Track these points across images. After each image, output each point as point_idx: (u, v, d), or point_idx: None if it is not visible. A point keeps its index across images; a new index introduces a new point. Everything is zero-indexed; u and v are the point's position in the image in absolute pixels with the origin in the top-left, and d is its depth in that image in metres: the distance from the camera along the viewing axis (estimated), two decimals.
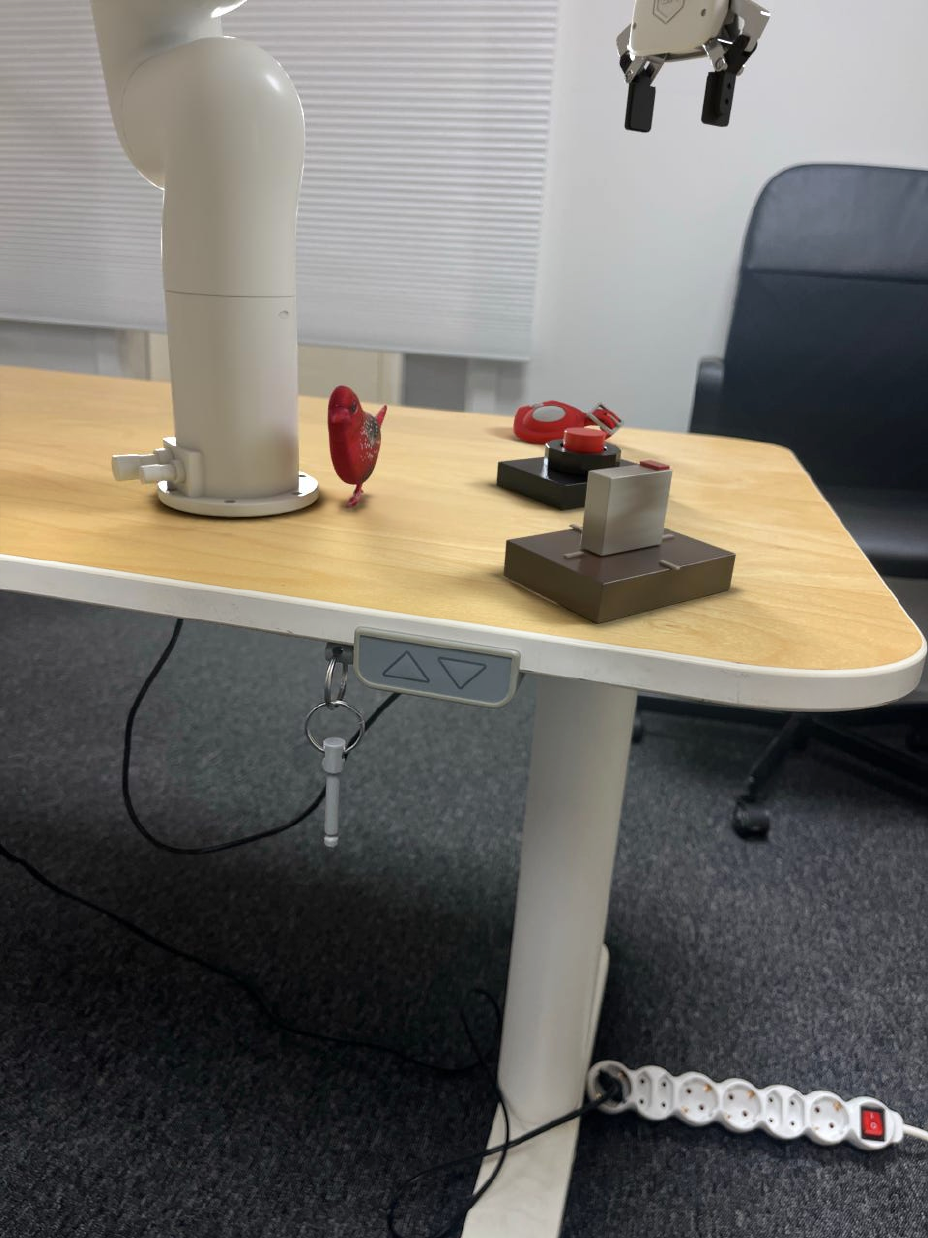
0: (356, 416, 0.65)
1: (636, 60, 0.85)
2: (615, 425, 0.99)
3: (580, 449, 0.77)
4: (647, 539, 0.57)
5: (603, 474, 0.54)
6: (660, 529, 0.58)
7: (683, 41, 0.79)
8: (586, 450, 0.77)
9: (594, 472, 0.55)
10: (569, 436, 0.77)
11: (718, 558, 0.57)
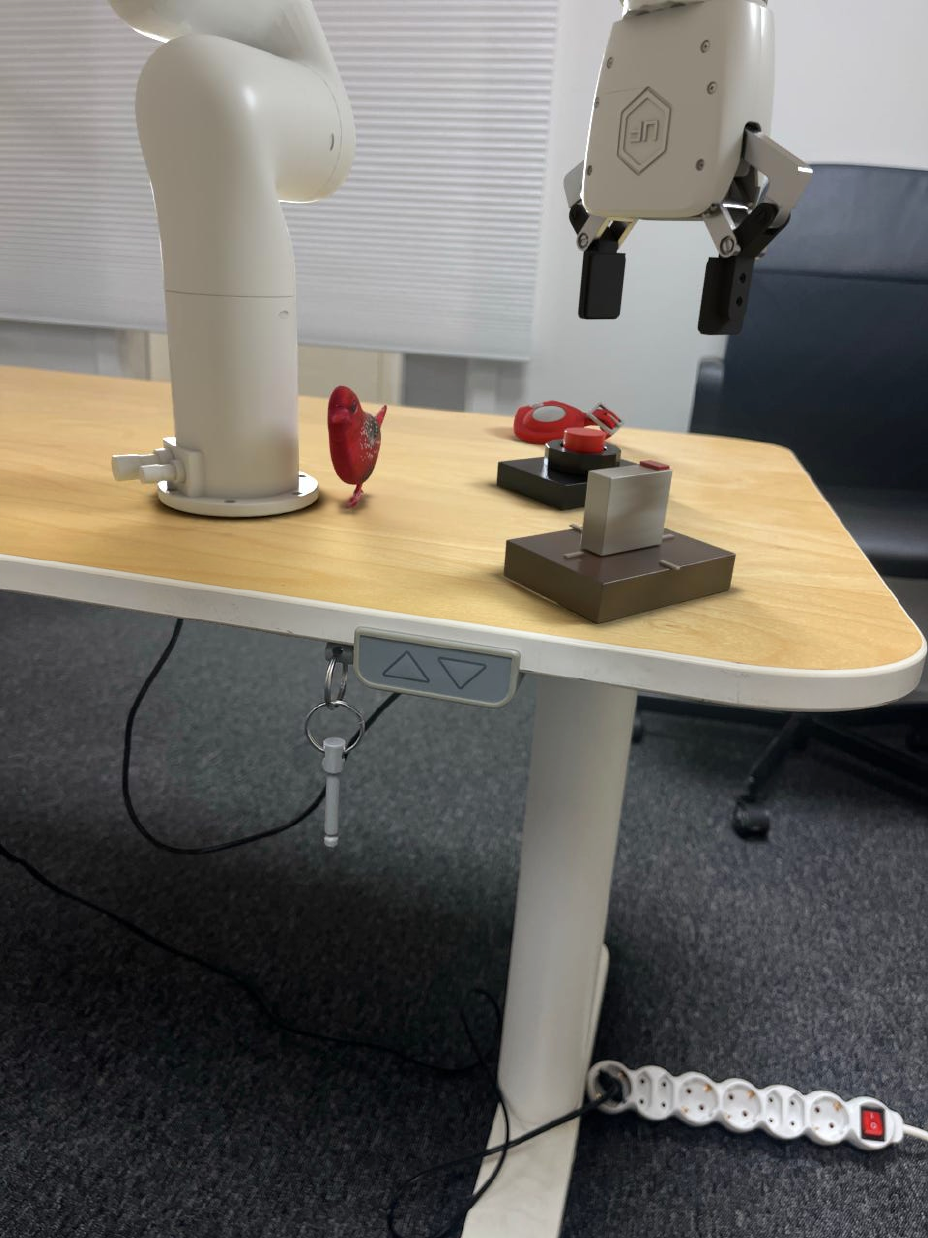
0: (356, 416, 0.65)
1: (594, 219, 0.54)
2: (615, 425, 0.99)
3: (580, 449, 0.77)
4: (647, 539, 0.57)
5: (603, 474, 0.54)
6: (660, 529, 0.58)
7: (667, 206, 0.48)
8: (586, 450, 0.77)
9: (594, 472, 0.55)
10: (569, 436, 0.77)
11: (718, 558, 0.57)
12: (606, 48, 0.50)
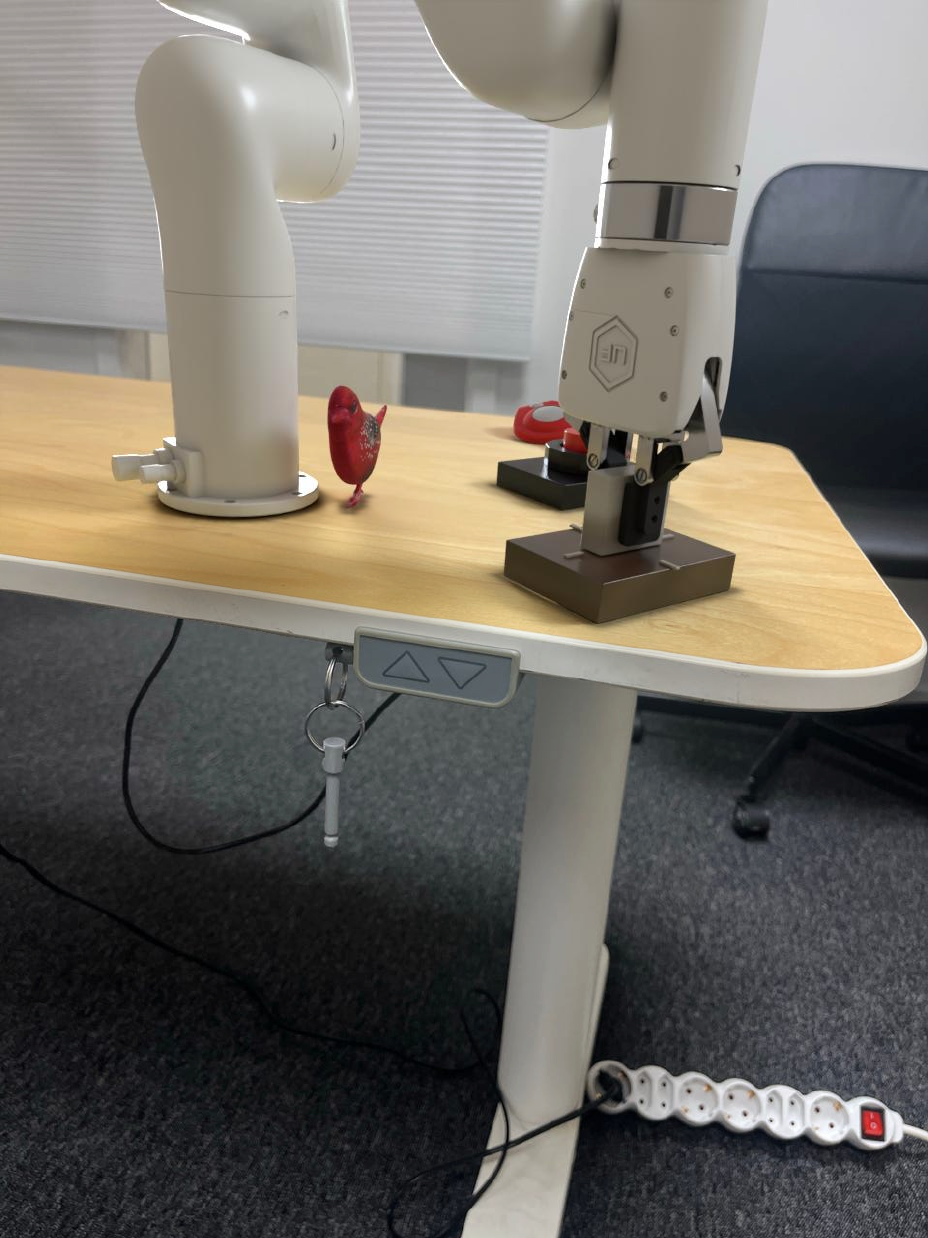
0: (356, 416, 0.65)
1: (594, 437, 0.56)
2: None
3: (580, 449, 0.77)
4: None
5: (603, 474, 0.54)
6: None
7: (633, 426, 0.51)
8: (586, 450, 0.77)
9: (594, 472, 0.55)
10: (569, 436, 0.77)
11: (718, 558, 0.57)
12: (580, 269, 0.53)
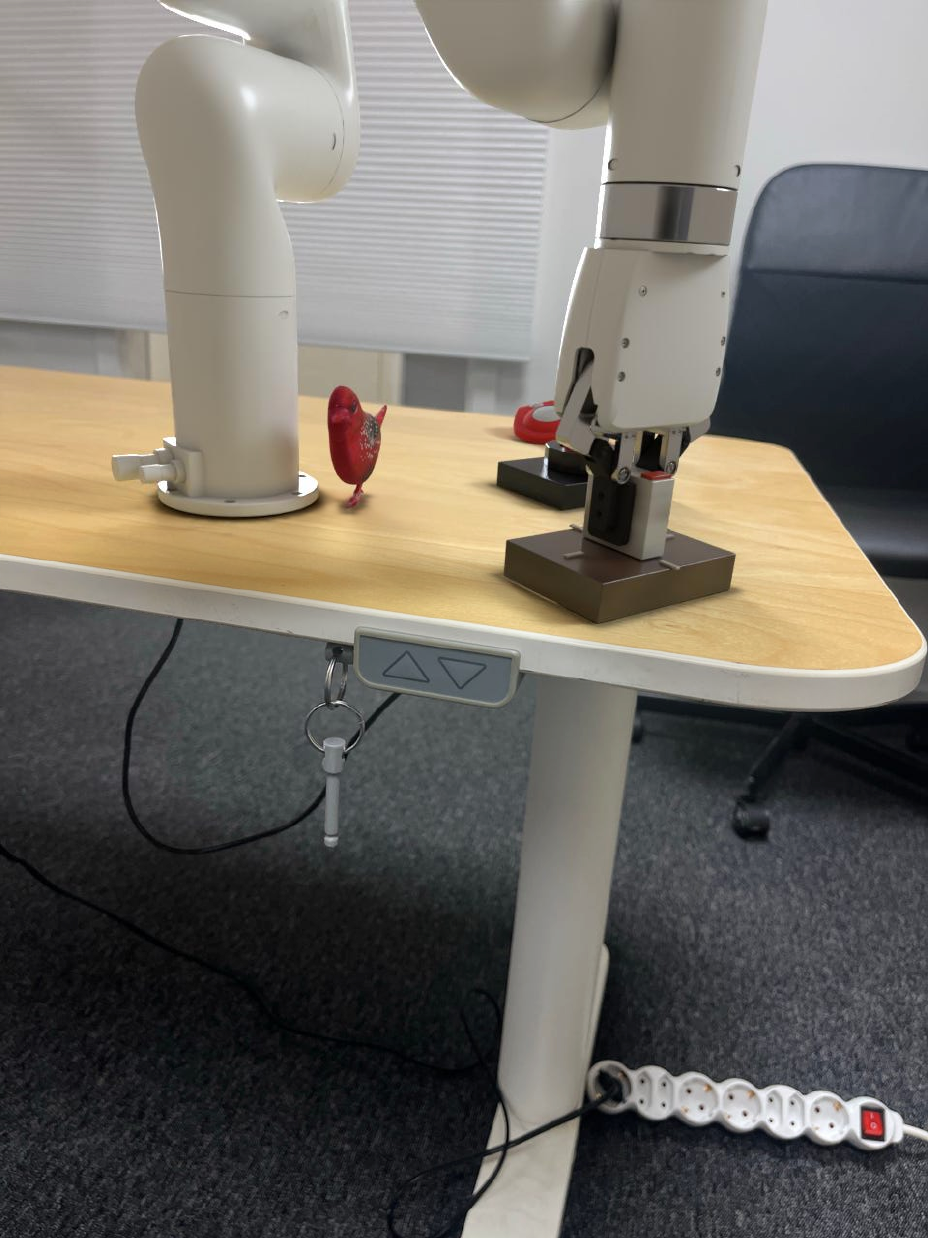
0: (356, 416, 0.65)
1: None
2: None
3: None
4: (625, 545, 0.56)
5: None
6: (639, 542, 0.55)
7: None
8: None
9: None
10: None
11: (718, 558, 0.57)
12: None
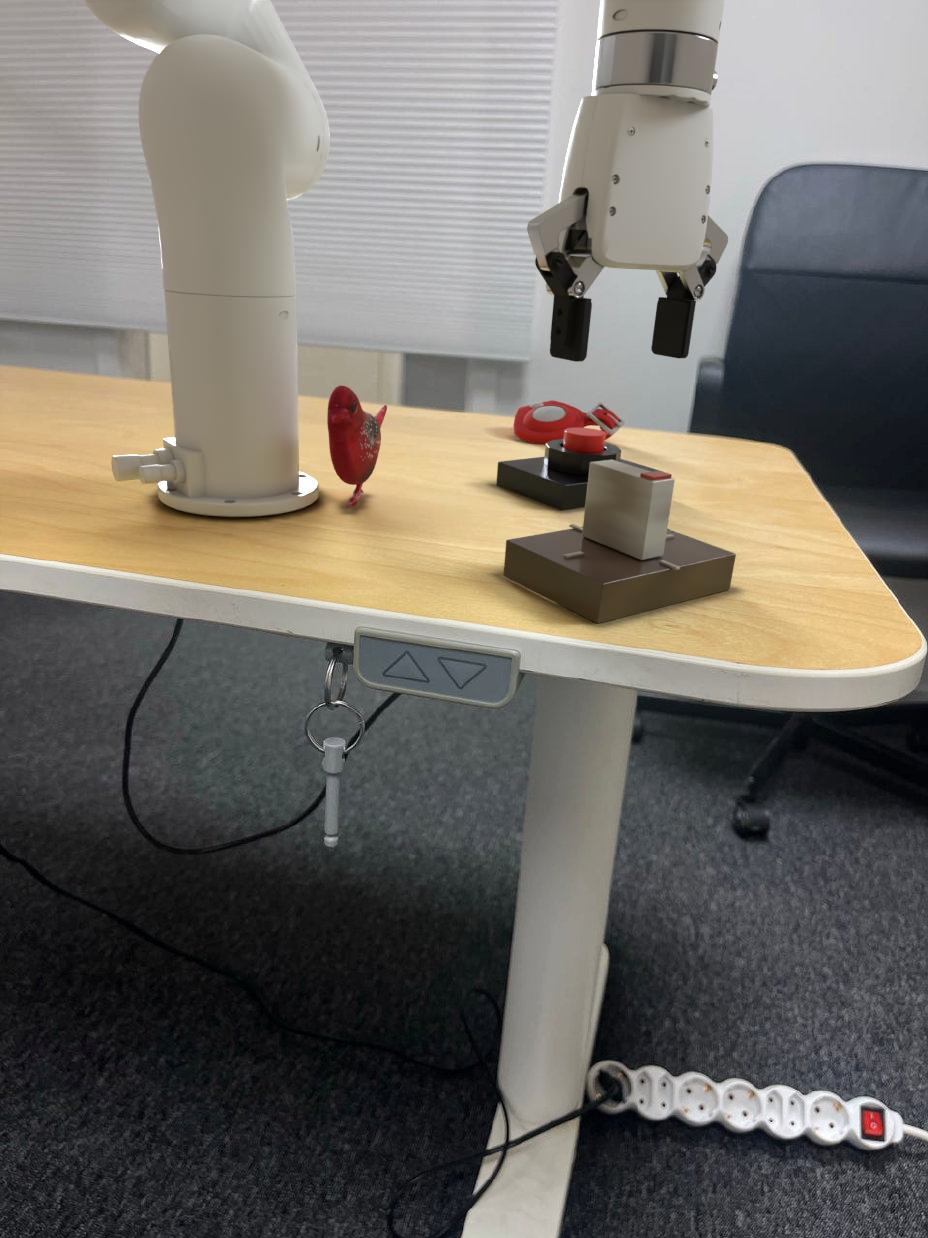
0: (356, 416, 0.65)
1: None
2: (615, 425, 0.99)
3: (580, 449, 0.77)
4: (625, 545, 0.56)
5: (601, 461, 0.57)
6: (639, 542, 0.55)
7: None
8: (586, 450, 0.77)
9: (607, 460, 0.58)
10: (569, 436, 0.77)
11: (718, 558, 0.57)
12: None
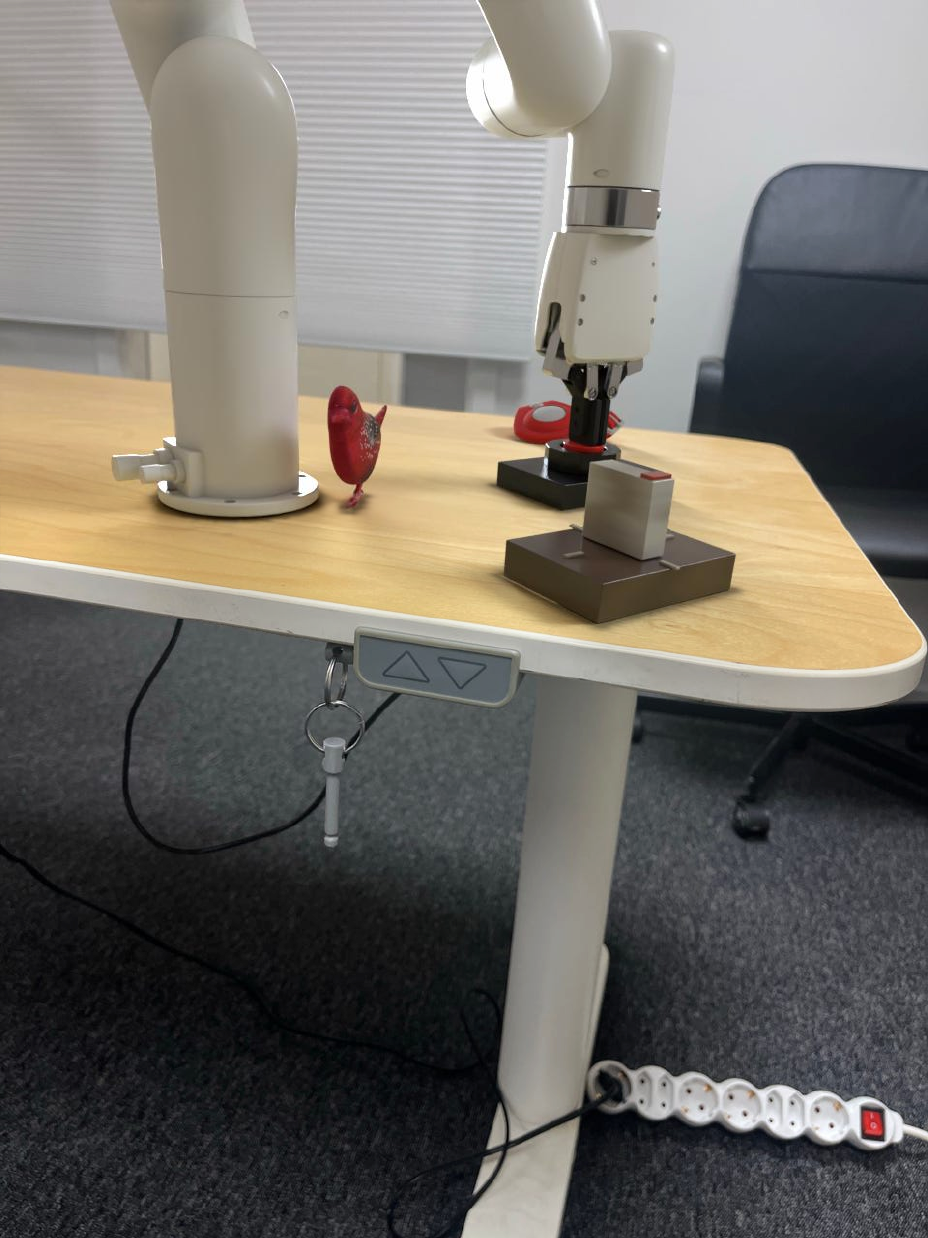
0: (356, 416, 0.65)
1: None
2: (615, 425, 0.99)
3: None
4: (625, 545, 0.56)
5: (601, 461, 0.57)
6: (639, 542, 0.55)
7: None
8: None
9: (607, 460, 0.58)
10: (568, 448, 0.78)
11: (718, 558, 0.57)
12: None
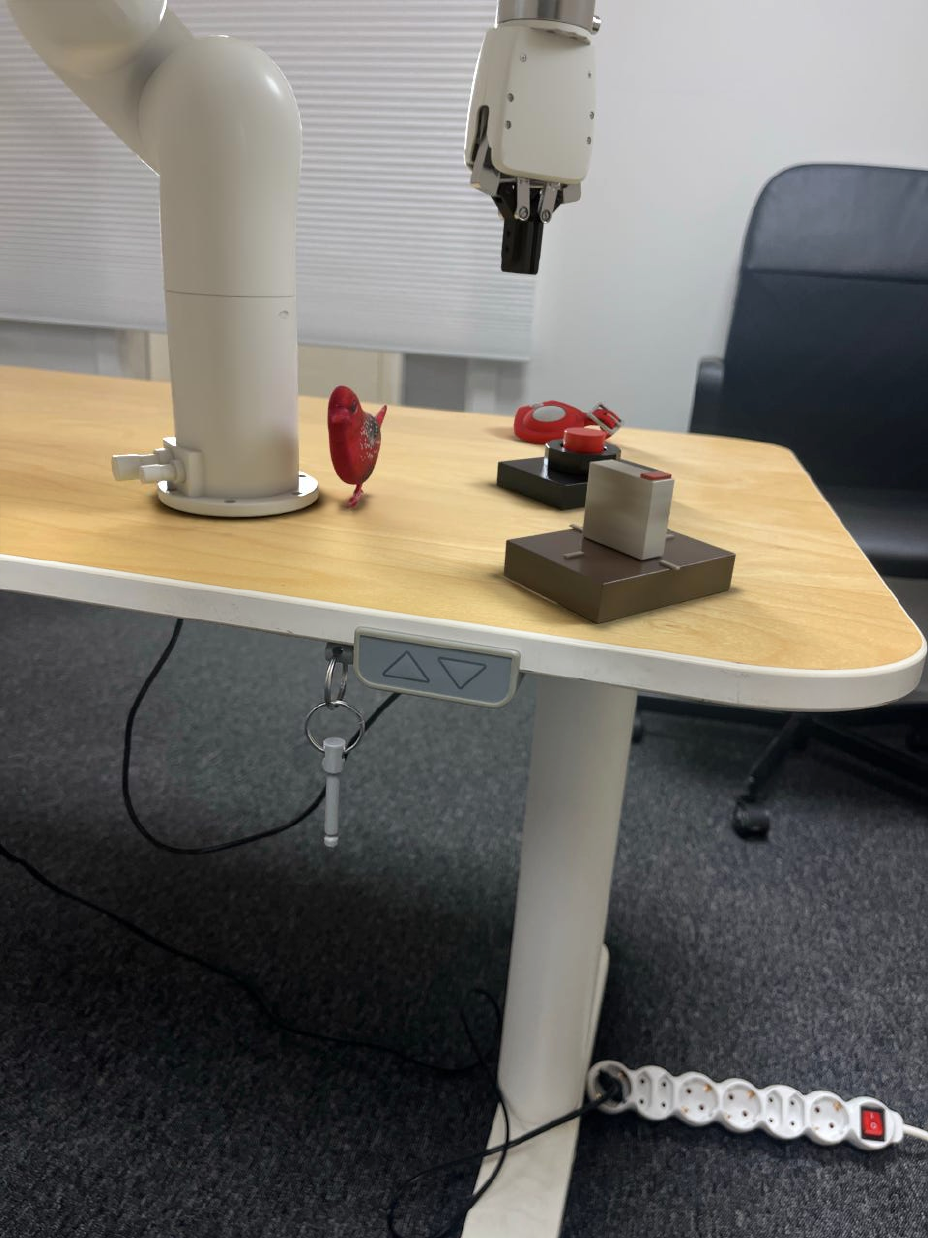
0: (356, 416, 0.65)
1: None
2: (615, 425, 0.99)
3: (580, 449, 0.77)
4: (625, 545, 0.56)
5: (601, 461, 0.57)
6: (639, 542, 0.55)
7: None
8: (586, 450, 0.77)
9: (607, 460, 0.58)
10: (569, 436, 0.77)
11: (718, 558, 0.57)
12: None
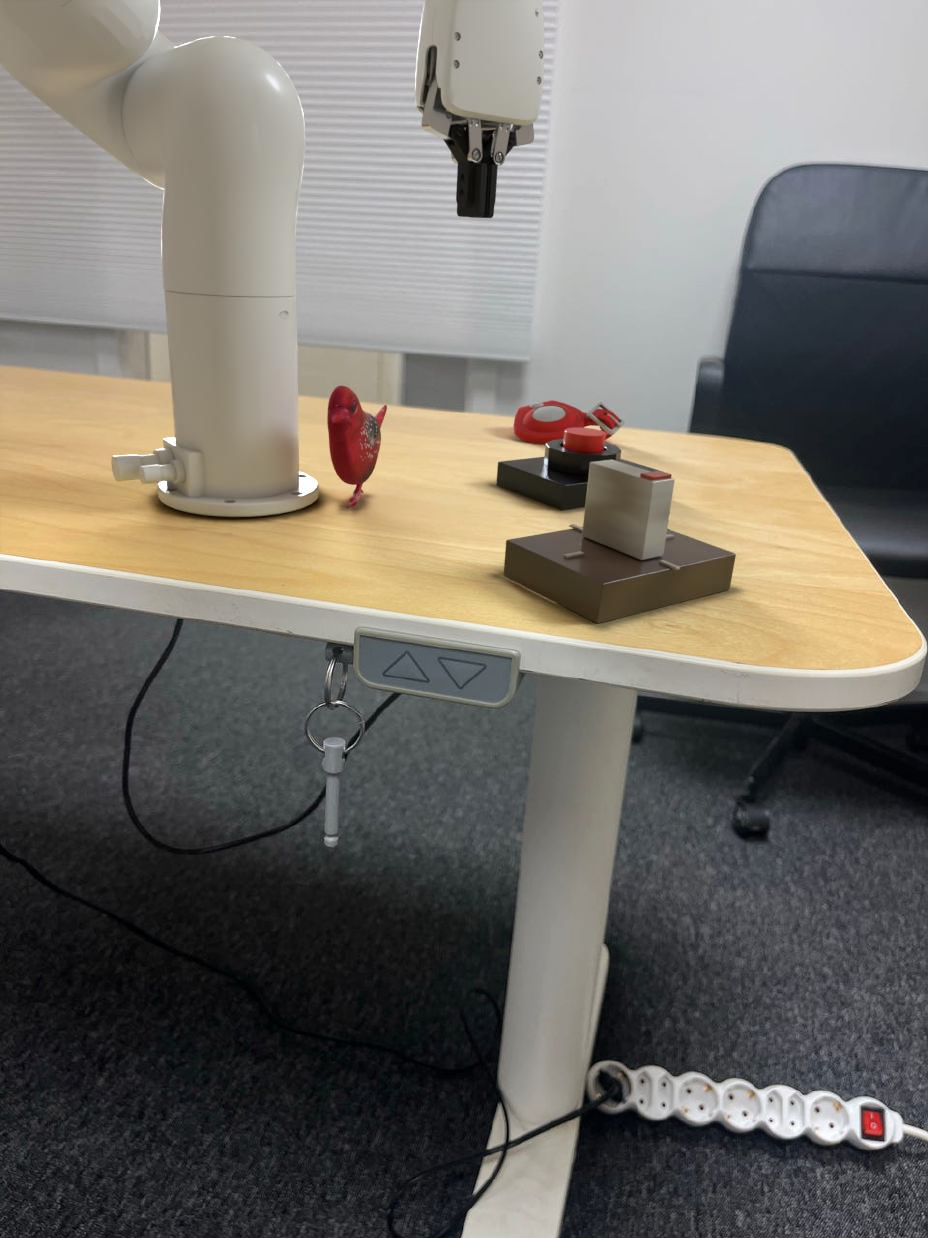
0: (356, 416, 0.65)
1: None
2: (615, 425, 0.99)
3: (580, 449, 0.77)
4: (625, 545, 0.56)
5: (601, 461, 0.57)
6: (639, 542, 0.55)
7: None
8: (586, 450, 0.77)
9: (607, 460, 0.58)
10: (569, 436, 0.77)
11: (718, 558, 0.57)
12: None
